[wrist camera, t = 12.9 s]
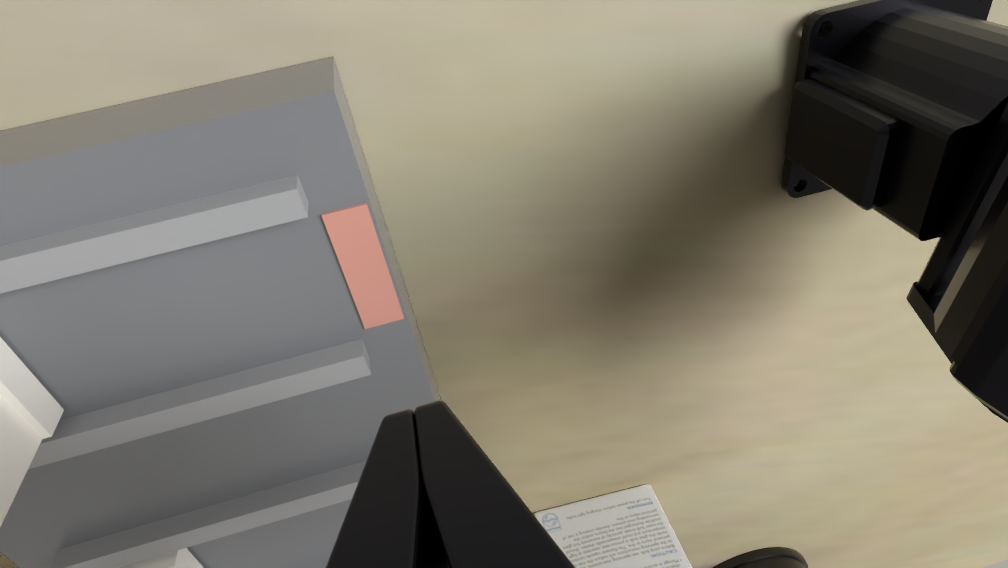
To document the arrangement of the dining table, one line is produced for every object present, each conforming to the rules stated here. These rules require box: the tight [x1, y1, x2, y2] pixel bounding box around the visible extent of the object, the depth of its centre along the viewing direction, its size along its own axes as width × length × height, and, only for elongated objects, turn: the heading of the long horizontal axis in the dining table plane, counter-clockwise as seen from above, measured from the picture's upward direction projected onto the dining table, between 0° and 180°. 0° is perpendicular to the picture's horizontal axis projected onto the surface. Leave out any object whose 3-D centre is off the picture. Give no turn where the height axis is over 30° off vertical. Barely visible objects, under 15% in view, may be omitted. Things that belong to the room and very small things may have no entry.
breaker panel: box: [0, 57, 441, 568], centre depth 21 cm, size 15×21×4 cm
